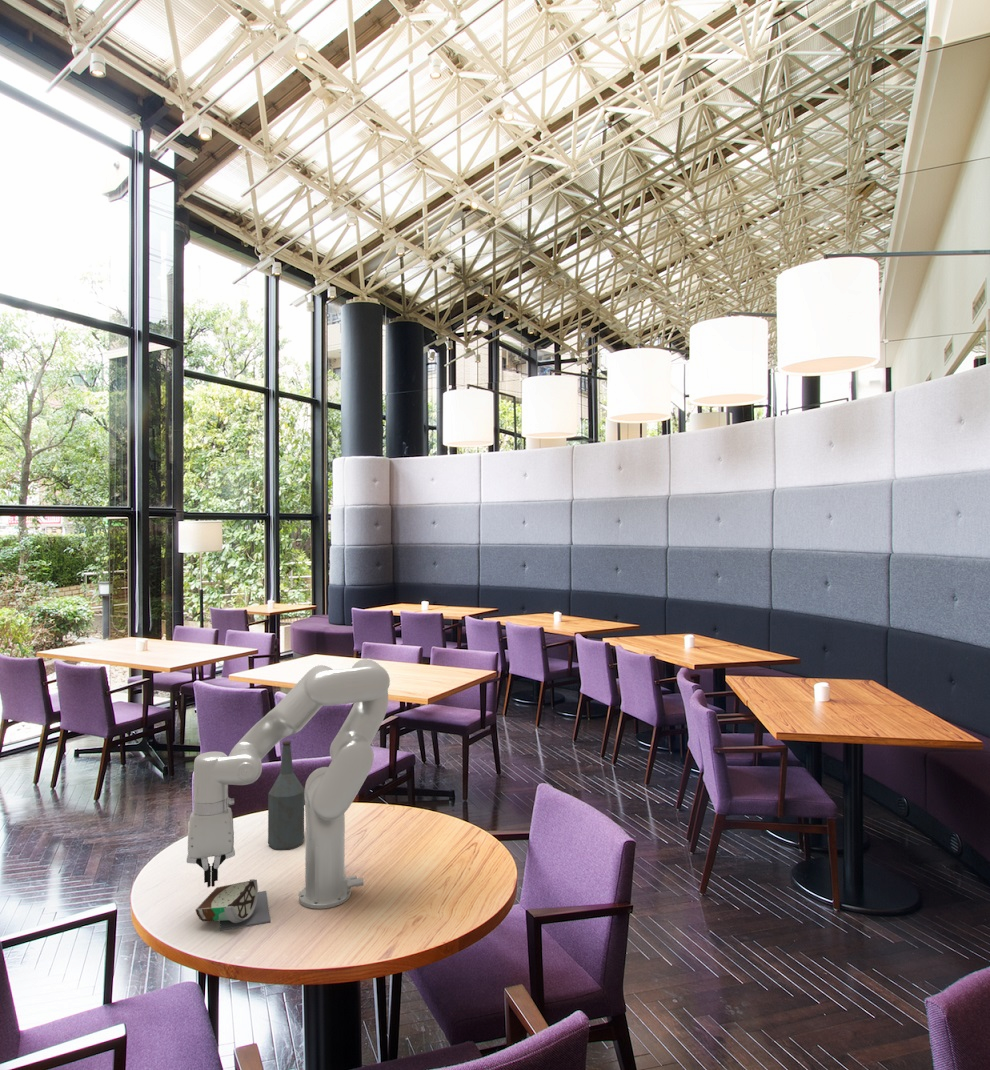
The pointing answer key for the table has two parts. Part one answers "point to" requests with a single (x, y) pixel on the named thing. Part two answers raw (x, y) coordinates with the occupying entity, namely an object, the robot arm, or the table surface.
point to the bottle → (286, 806)
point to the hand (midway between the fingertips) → (211, 884)
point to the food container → (230, 902)
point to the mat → (252, 915)
